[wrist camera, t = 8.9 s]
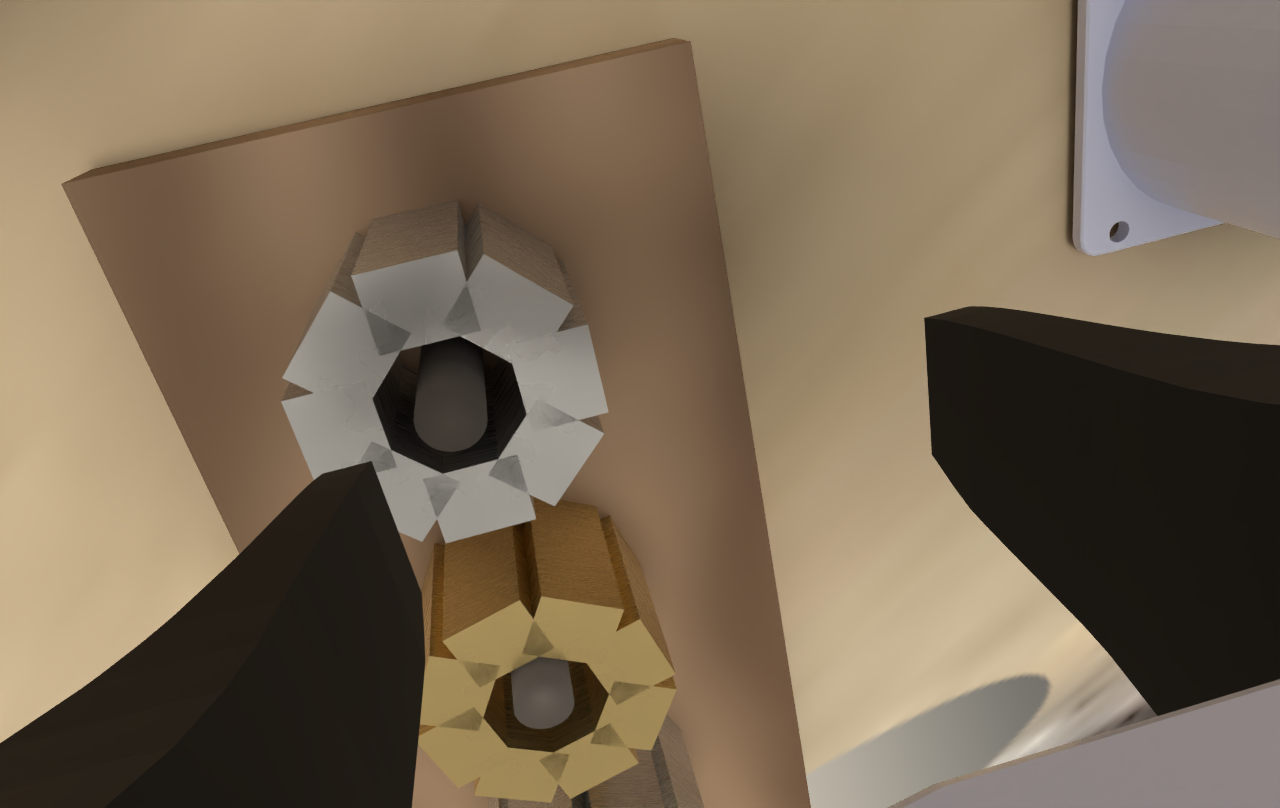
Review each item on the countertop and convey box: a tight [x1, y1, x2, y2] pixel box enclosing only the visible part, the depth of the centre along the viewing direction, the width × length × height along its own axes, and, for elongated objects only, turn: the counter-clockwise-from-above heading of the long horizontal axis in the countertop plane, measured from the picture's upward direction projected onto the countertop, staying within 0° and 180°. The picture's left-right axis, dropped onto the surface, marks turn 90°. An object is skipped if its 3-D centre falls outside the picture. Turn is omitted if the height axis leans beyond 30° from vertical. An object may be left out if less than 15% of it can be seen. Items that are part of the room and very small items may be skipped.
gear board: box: [62, 38, 811, 808], centre depth 20 cm, size 12×22×6 cm, turn 11°
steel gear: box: [281, 199, 608, 543], centre depth 17 cm, size 5×5×4 cm
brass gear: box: [418, 496, 677, 803], centre depth 20 cm, size 5×5×4 cm
